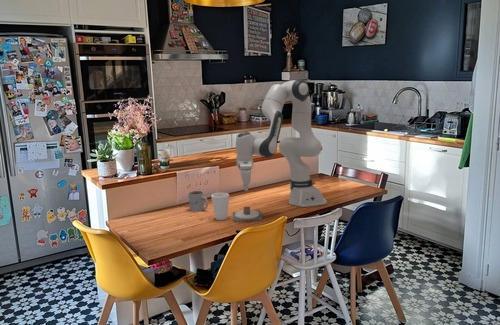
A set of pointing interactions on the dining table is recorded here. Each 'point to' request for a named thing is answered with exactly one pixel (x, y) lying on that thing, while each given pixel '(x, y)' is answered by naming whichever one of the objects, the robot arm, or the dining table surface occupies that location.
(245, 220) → the mat
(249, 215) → the lid
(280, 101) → the robot arm
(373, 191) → the dining table surface
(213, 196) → the foam cup
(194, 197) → the mug
